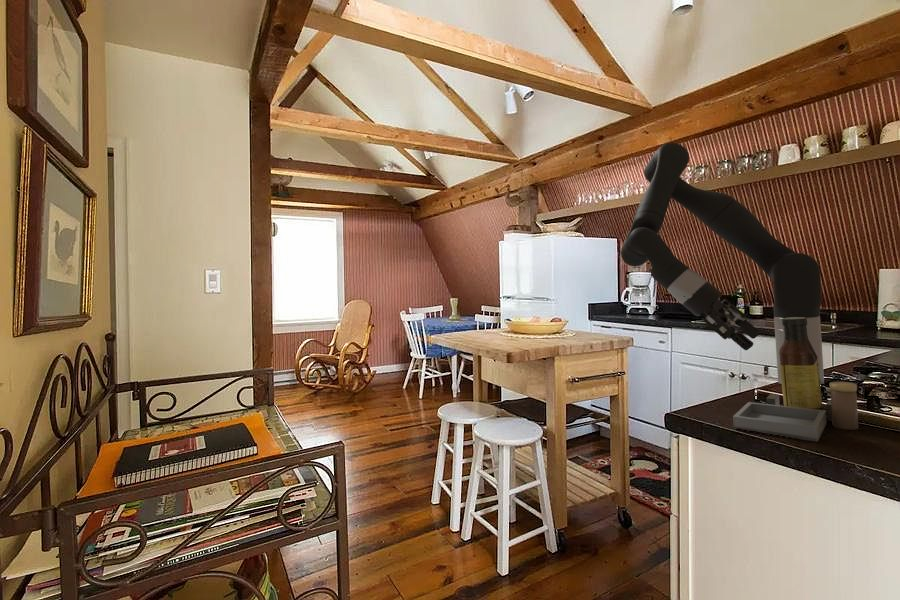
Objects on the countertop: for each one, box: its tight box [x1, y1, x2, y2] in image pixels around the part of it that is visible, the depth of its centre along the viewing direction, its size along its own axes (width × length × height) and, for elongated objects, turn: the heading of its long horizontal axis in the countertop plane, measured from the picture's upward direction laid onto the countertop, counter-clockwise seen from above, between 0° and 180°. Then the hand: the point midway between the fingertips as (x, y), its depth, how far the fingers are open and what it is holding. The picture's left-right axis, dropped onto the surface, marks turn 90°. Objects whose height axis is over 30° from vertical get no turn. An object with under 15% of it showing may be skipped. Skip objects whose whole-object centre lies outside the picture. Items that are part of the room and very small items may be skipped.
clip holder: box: [765, 393, 832, 422], centre depth 91 cm, size 5×13×3 cm, turn 44°
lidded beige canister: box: [828, 381, 859, 431], centre depth 82 cm, size 4×4×8 cm
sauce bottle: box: [779, 317, 823, 410], centre depth 90 cm, size 7×6×20 cm
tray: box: [732, 401, 828, 443], centre depth 85 cm, size 12×13×2 cm
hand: (753, 341), depth 98 cm, fingers open, 8 cm apart
